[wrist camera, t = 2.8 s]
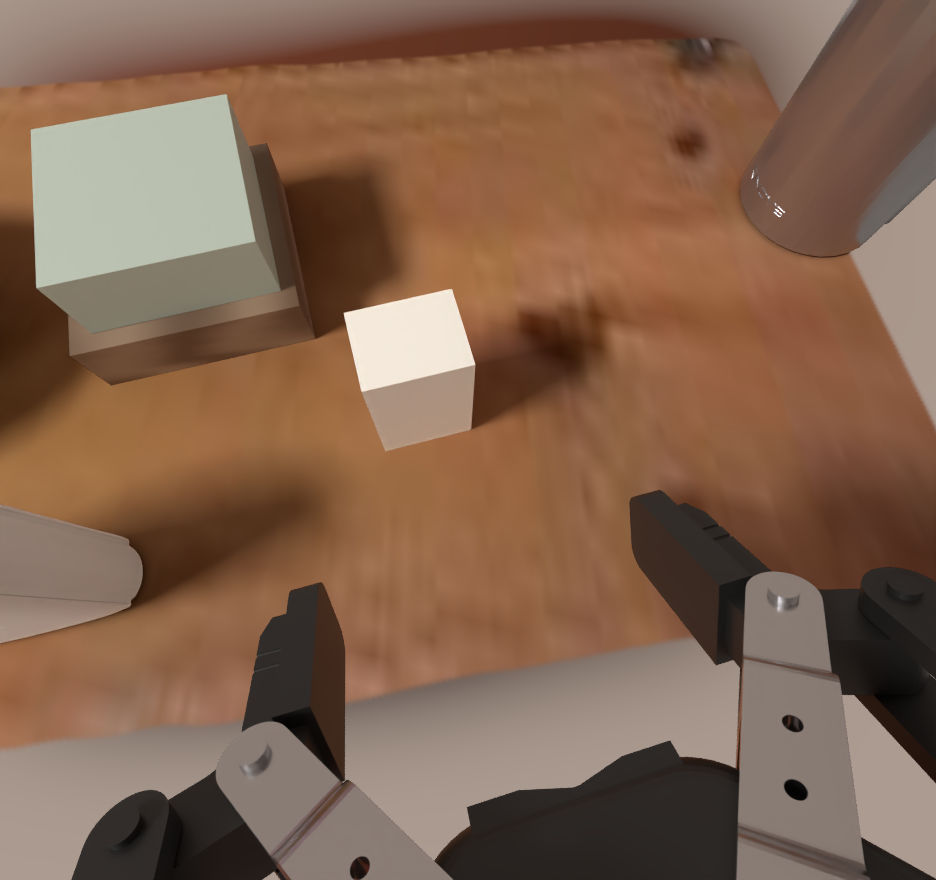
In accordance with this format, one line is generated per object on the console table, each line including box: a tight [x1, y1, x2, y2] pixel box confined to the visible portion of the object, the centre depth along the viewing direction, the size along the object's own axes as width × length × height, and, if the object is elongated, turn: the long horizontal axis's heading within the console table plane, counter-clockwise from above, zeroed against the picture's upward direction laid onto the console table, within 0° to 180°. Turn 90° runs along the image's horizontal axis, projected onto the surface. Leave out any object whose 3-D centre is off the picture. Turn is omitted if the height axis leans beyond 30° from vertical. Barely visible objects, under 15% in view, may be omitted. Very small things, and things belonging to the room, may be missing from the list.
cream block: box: [344, 289, 475, 451], centre depth 27 cm, size 5×4×8 cm
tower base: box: [68, 143, 315, 385], centre depth 32 cm, size 12×12×4 cm
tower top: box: [31, 94, 281, 333], centre depth 29 cm, size 10×10×4 cm
